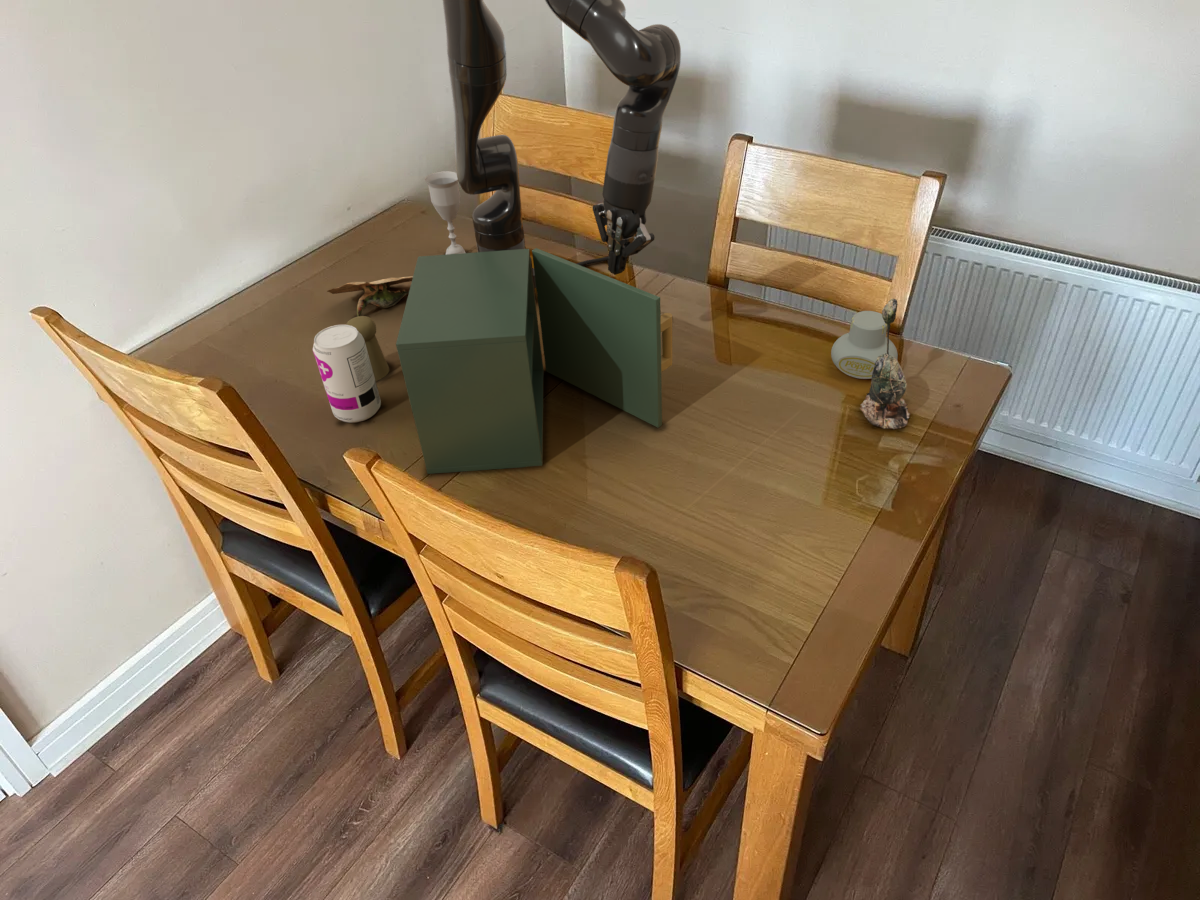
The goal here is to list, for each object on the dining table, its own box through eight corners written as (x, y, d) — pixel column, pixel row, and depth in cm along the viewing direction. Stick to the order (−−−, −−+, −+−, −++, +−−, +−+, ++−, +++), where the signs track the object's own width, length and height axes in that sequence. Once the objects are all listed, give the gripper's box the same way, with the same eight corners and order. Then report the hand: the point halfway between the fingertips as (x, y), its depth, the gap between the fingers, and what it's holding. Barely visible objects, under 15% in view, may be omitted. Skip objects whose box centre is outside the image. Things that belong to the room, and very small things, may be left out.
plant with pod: (847, 429, 139) (864, 321, 126) (868, 391, 146) (886, 285, 133) (898, 443, 135) (922, 333, 122) (917, 403, 143) (941, 296, 130)
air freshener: (824, 375, 150) (830, 325, 144) (835, 350, 156) (842, 301, 149) (889, 388, 146) (898, 338, 140) (898, 362, 152) (908, 312, 145)
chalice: (478, 252, 193) (465, 173, 181) (462, 266, 188) (448, 186, 176) (450, 247, 195) (436, 169, 184) (433, 261, 191) (418, 182, 179)
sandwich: (387, 310, 188) (384, 274, 186) (431, 313, 179) (428, 275, 177) (314, 318, 174) (310, 279, 172) (357, 321, 165) (354, 280, 164)
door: (570, 355, 159) (559, 235, 144) (682, 409, 145) (683, 282, 129) (545, 371, 155) (531, 250, 140) (658, 427, 141) (656, 300, 126)
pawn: (381, 383, 156) (367, 330, 149) (350, 380, 157) (335, 328, 150) (394, 364, 160) (381, 312, 153) (364, 361, 161) (349, 310, 154)
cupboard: (543, 371, 156) (529, 248, 140) (542, 466, 136) (525, 335, 120) (443, 378, 156) (418, 256, 141) (427, 474, 136) (395, 344, 121)
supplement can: (340, 430, 146) (317, 355, 136) (328, 405, 151) (305, 331, 142) (387, 414, 148) (367, 340, 139) (373, 390, 154) (353, 317, 144)
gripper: (678, 184, 129) (659, 285, 140) (621, 148, 136) (607, 247, 147) (640, 194, 125) (623, 297, 136) (584, 157, 132) (572, 258, 143)
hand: (615, 271), depth 142 cm, fingers closed
